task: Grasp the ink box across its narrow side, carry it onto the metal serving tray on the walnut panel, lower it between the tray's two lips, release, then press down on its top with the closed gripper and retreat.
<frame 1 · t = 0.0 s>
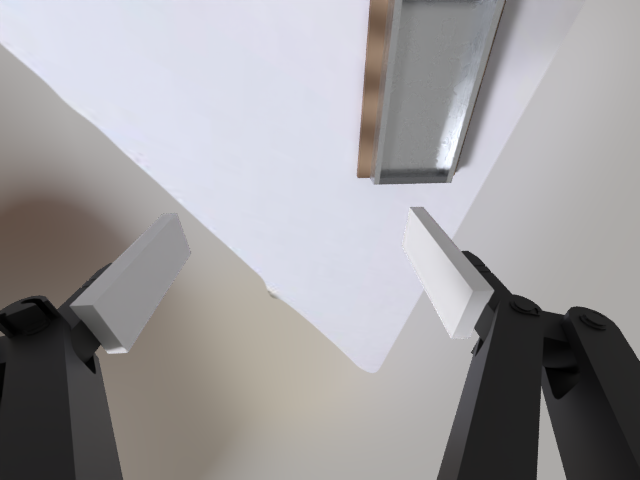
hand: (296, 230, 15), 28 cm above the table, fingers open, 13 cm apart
panel: (419, 91, 36), on the table
metal serving tray: (418, 99, 36), resting on panel
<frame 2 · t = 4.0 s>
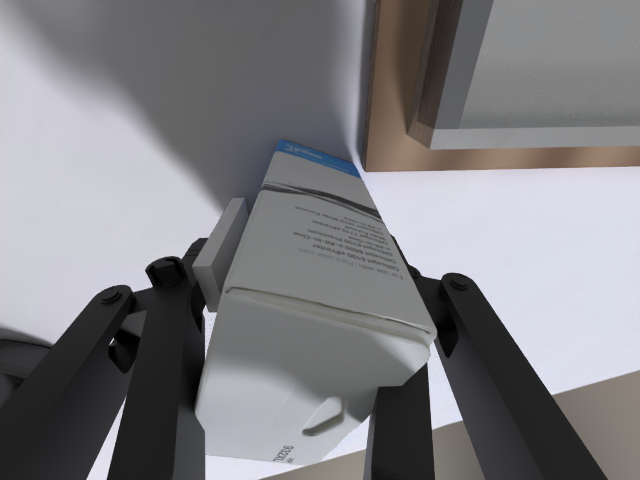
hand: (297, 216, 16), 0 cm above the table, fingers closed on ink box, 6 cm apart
ink box: (297, 211, 17), on the table, touching gripper
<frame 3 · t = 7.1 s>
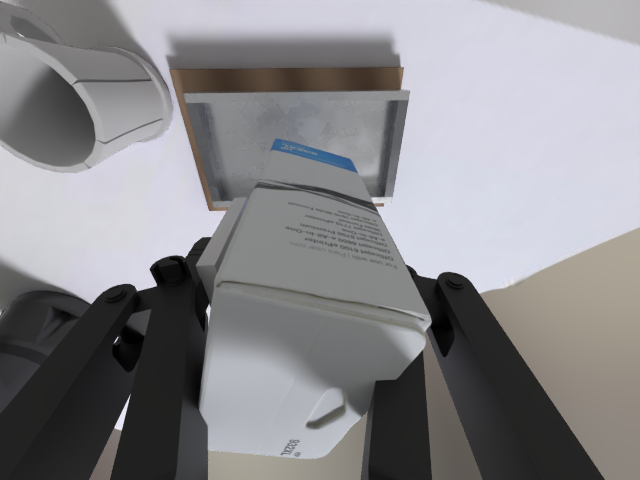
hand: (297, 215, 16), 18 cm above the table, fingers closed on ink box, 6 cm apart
panel: (293, 146, 31), on the table
cup: (124, 92, 27), on the table
ink box: (297, 209, 17), point 17 cm above the table, touching gripper
metal serving tray: (301, 146, 31), resting on panel
when the fingers open (3 cm above the table, at t = 10.4 s): ink box stays where it is, resting on metal serving tray.
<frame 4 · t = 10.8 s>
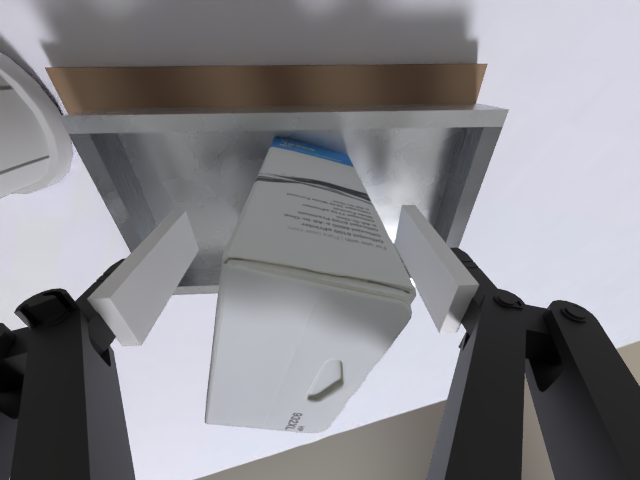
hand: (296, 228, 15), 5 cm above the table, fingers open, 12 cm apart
panel: (285, 194, 19), on the table
ink box: (297, 204, 18), point 2 cm above the table, touching metal serving tray
metal serving tray: (298, 194, 19), resting on panel
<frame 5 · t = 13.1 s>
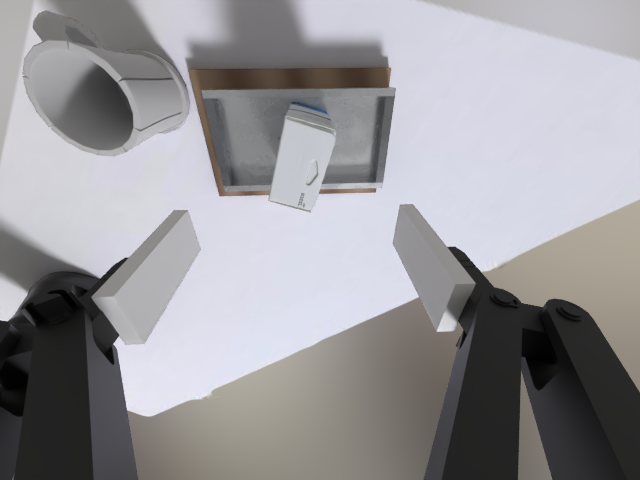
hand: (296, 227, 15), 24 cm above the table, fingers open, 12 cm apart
panel: (295, 137, 35), on the table
cup: (148, 89, 32), on the table
ink box: (302, 140, 34), point 2 cm above the table, touching metal serving tray
metal serving tray: (302, 137, 35), resting on panel
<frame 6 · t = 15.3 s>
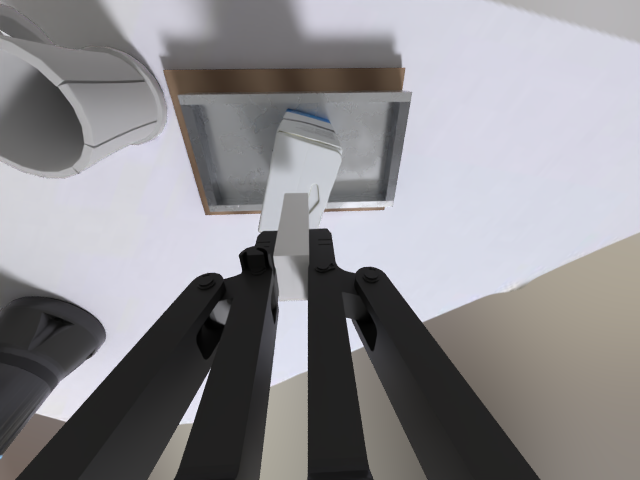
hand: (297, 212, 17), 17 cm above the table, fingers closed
panel: (292, 149, 30), on the table
cup: (117, 93, 27), on the table
ink box: (299, 152, 29), point 2 cm above the table, touching metal serving tray
metal serving tray: (300, 149, 30), resting on panel
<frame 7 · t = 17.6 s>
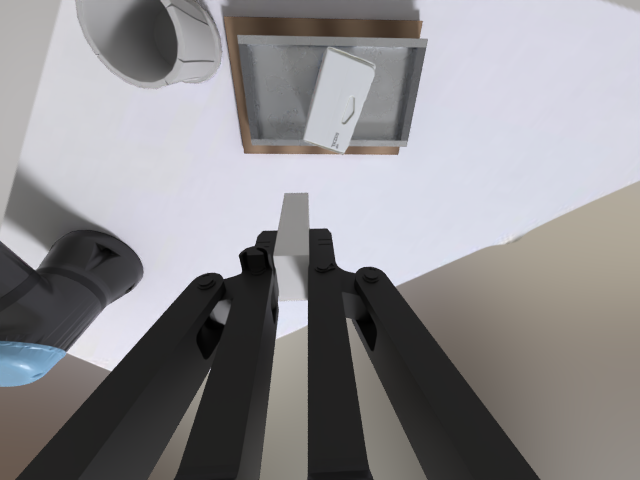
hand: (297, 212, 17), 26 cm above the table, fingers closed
panel: (322, 94, 36), on the table
cup: (181, 37, 32), on the table
ink box: (330, 95, 34), point 2 cm above the table, touching metal serving tray
metal serving tray: (329, 94, 36), resting on panel
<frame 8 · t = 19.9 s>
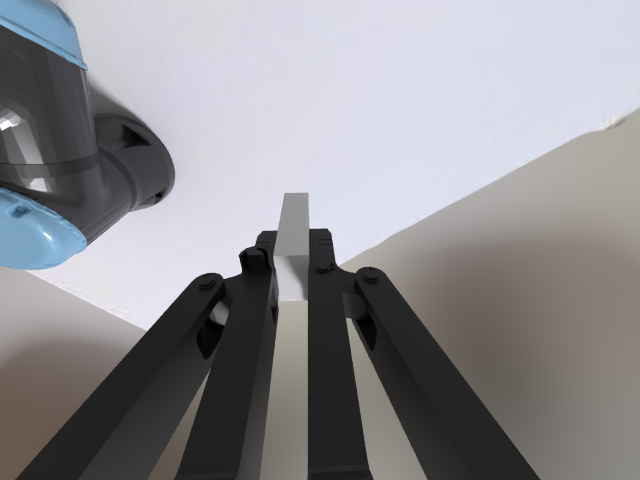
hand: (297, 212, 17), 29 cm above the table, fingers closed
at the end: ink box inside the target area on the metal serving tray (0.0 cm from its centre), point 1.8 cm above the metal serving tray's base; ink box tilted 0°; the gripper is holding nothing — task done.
